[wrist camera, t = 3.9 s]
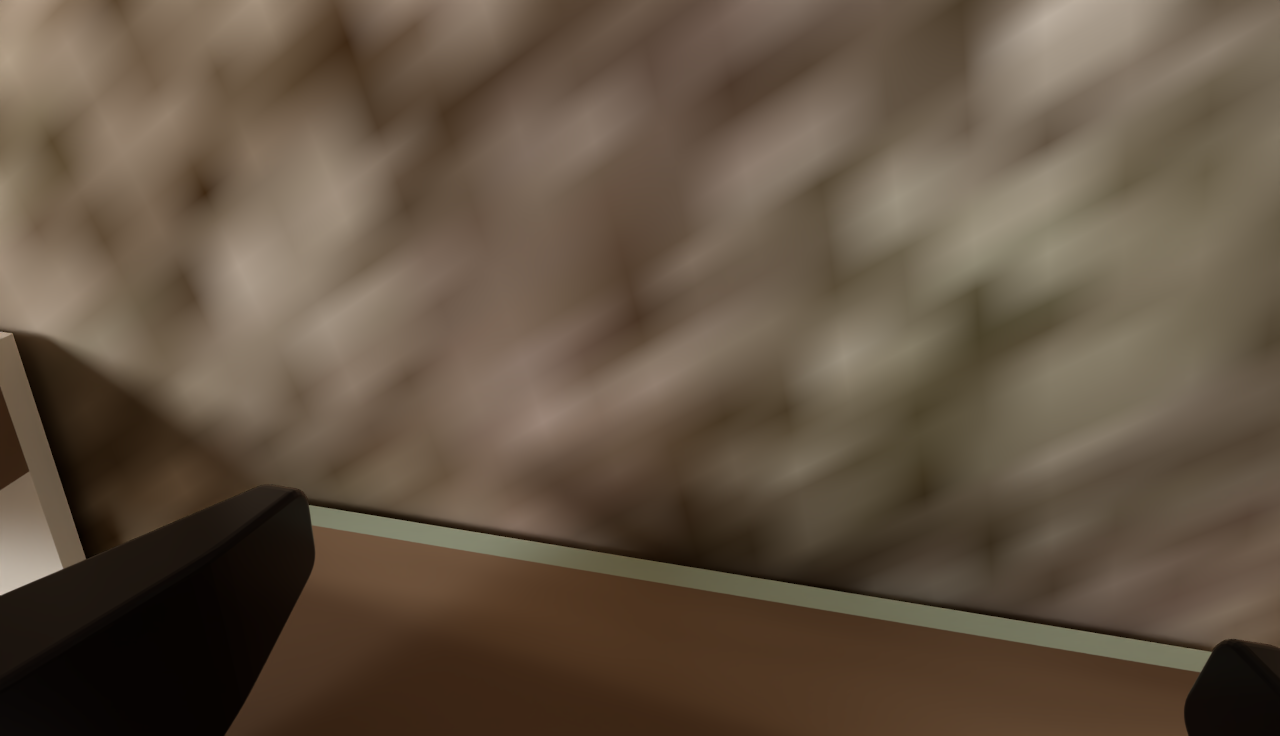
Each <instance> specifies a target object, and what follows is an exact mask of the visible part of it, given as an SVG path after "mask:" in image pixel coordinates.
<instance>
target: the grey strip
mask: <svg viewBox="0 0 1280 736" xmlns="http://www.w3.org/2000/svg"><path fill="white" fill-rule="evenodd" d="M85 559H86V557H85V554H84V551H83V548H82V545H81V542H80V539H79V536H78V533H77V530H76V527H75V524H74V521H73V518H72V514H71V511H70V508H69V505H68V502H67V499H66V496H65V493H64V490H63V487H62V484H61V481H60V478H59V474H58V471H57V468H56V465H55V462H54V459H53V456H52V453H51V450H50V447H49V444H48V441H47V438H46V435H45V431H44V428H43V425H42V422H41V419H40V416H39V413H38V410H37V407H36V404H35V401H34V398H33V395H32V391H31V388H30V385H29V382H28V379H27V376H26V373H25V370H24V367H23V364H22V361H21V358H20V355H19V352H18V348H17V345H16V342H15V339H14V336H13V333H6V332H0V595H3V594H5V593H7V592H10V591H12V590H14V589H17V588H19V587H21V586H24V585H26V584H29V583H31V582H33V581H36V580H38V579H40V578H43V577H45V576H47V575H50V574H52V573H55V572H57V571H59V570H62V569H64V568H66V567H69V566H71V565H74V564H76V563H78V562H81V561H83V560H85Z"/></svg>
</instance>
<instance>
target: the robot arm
mask: <svg viewBox="0 0 1280 736" xmlns="http://www.w3.org/2000/svg"><path fill="white" fill-rule="evenodd" d="M314 562H315V544H314V537H313V530H312V523H311V516H310V510H309V503H308V499H307V497H306V495H305V494H304V493H303V492H302V491H301V490H299V489H295V488H289V487H283V486H276V485H261V486H258V487H256V488H253V489H251V490H249V491H246V492H244V493H242V494H239V495H237V496H234V497H232V498H230V499H227V500H225V501H223V502H220V503H218V504H215V505H213V506H211V507H208V508H206V509H204V510H201V511H199V512H197V513H194V514H192V515H189V516H187V517H185V518H182V519H180V520H178V521H175V522H173V523H171V524H168V525H166V526H163V527H161V528H159V529H156V530H154V531H152V532H149V533H147V534H144V535H142V536H140V537H137V538H135V539H133V540H130V541H128V542H126V543H123V544H121V545H118V546H116V547H114V548H111V549H109V550H107V551H104V552H102V553H100V554H97V555H95V556H92V557H90V558H88V559H85V560H83V561H81V562H78V563H76V564H74V565H71V566H69V567H66V568H64V569H62V570H59V571H57V572H55V573H52V574H50V575H47V576H45V577H43V578H40V579H38V580H36V581H33V582H31V583H29V584H26V585H24V586H21V587H19V588H17V589H14V590H12V591H10V592H7V593H5V594H3V595H0V736H225V734H226V733H227V731H228V729H229V728H230V726H231V725H232V723H233V721H234V720H235V718H236V716H237V715H238V713H239V712H240V710H241V708H242V707H243V705H244V703H245V701H246V699H247V698H248V696H249V694H250V692H251V690H252V688H253V687H254V685H255V683H256V681H257V679H258V677H259V675H260V673H261V671H262V669H263V667H264V665H265V663H266V661H267V659H268V657H269V655H270V653H271V652H272V650H273V648H274V646H275V644H276V642H277V640H278V638H279V636H280V634H281V632H282V630H283V628H284V626H285V624H286V622H287V620H288V618H289V616H290V614H291V612H292V610H293V608H294V606H295V604H296V602H297V600H298V599H299V597H300V595H301V593H302V591H303V589H304V587H305V585H306V583H307V581H308V579H309V577H310V575H311V572H312V569H313V566H314ZM1184 720H1185V726H1186V730H1187V733H1188V736H1280V648H1277V647H1275V646H1272V645H1268V644H1262V643H1256V642H1250V641H1244V640H1237V639H1228V640H1224V641H1222V642H1221V643H1219V644H1218V645H1217V646H1216V647H1215V648H1214V650H1213V651H1212V653H1211V655H1210V657H1209V658H1208V660H1207V662H1206V664H1205V665H1204V667H1203V669H1202V671H1201V672H1200V674H1199V676H1198V678H1197V679H1196V681H1195V683H1194V685H1193V686H1192V688H1191V690H1190V692H1189V693H1188V695H1187V698H1186V701H1185V706H1184Z"/></svg>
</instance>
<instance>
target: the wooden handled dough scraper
mask: <svg viewBox="0 0 1280 736" xmlns="http://www.w3.org/2000/svg"><path fill="white" fill-rule="evenodd" d="M309 510H310V516H311V523H312V530H313V537H314V544H315V562H314V566H313V569H312V572H311V575H310V577H309V579H308V581H307V583H306V585H305V587H304V589H303V591H302V593H301V595H300V597H299V599H298V600H297V602H296V604H295V606H294V608H293V610H292V612H291V614H290V616H289V618H288V620H287V622H286V624H285V626H284V628H283V630H282V632H281V634H280V636H279V638H278V640H277V642H276V644H275V646H274V648H273V650H272V652H271V653H270V655H269V657H268V659H267V661H266V663H265V665H264V667H263V669H262V671H261V673H260V675H259V677H258V679H257V681H256V683H255V685H254V687H253V688H252V690H251V692H250V694H249V696H248V698H247V699H246V701H245V703H244V705H243V707H242V708H241V710H240V712H239V713H238V715H237V716H236V718H235V720H234V721H233V723H232V725H231V726H230V728H229V729H228V731H227V733H226V734H225V736H1188V733H1187V730H1186V726H1185V720H1184V706H1185V701H1186V698H1187V695H1188V693H1189V692H1190V690H1191V688H1192V686H1193V685H1194V683H1195V681H1196V679H1197V678H1198V676H1199V674H1200V672H1201V671H1202V669H1203V667H1204V665H1205V664H1206V662H1207V660H1208V658H1209V657H1210V655H1211V653H1212V652H1209V651H1203V650H1197V649H1191V648H1184V647H1178V646H1172V645H1166V644H1160V643H1154V642H1148V641H1141V640H1135V639H1129V638H1123V637H1117V636H1111V635H1105V634H1098V633H1092V632H1086V631H1080V630H1074V629H1068V628H1062V627H1055V626H1049V625H1043V624H1037V623H1031V622H1025V621H1019V620H1012V619H1006V618H1000V617H994V616H988V615H982V614H976V613H969V612H963V611H957V610H951V609H945V608H939V607H933V606H926V605H920V604H914V603H908V602H902V601H896V600H890V599H883V598H877V597H871V596H865V595H859V594H853V593H847V592H840V591H834V590H828V589H822V588H816V587H810V586H804V585H797V584H791V583H785V582H779V581H773V580H767V579H761V578H754V577H748V576H742V575H736V574H730V573H724V572H718V571H711V570H705V569H699V568H693V567H687V566H681V565H675V564H668V563H662V562H656V561H650V560H644V559H638V558H632V557H625V556H619V555H613V554H607V553H601V552H595V551H589V550H582V549H576V548H570V547H564V546H558V545H552V544H546V543H539V542H533V541H527V540H521V539H515V538H509V537H503V536H496V535H490V534H484V533H478V532H472V531H466V530H460V529H453V528H447V527H441V526H435V525H429V524H423V523H417V522H410V521H404V520H398V519H392V518H386V517H380V516H374V515H367V514H361V513H355V512H349V511H343V510H337V509H331V508H324V507H318V506H312V505H309Z"/></svg>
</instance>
